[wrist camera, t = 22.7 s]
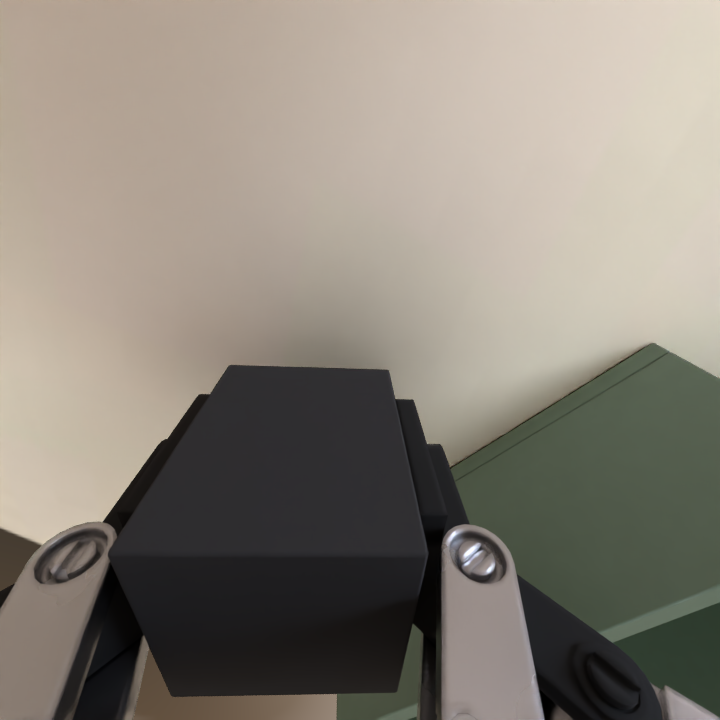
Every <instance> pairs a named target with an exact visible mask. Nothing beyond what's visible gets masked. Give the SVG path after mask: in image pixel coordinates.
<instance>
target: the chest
mask: <svg viewBox="0 0 720 720" xmlns="http://www.w3.org/2000/svg"><path fill="white" fill-rule="evenodd" d="M450 470H451V472H452V475H453V478H454V481H455V484H456V487H457V489H458V492H459V495H460V498H461V501H462V503H463V506H464V509H465V512H466V515H467V517H468V520H469V523H470V525H476V526H479V527H482V528H485V529H486V530H488V531H490V532H491V533H493V534H495V535H496V536H497V537H498V538H499V539H500V540H501V541H502V542H503V543H504V544H505V545H506V547H507V548H508V550H509V551H510V553H511V555H512V558H513V561H514V564H515V569H516V574H517V575H519V576H520V577H522V578H523V579H524V580H526V581H527V582H529V583H530V584H531V585H533V586H534V587H536V588H537V589H538V590H540V591H541V592H543V593H544V594H545V595H547V596H548V597H549V598H551V599H552V600H554V601H555V602H556V603H558V604H559V605H561V606H562V607H563V608H565V609H566V610H568V611H569V612H570V613H572V614H573V615H575V616H576V617H577V618H579V619H580V620H581V621H583V622H584V623H586V624H587V625H588V626H590V627H591V628H593V629H594V630H595V631H597V632H598V633H600V634H601V635H602V636H604V637H605V638H607V639H608V640H609V641H611V642H612V643H614V644H615V645H616V646H618V647H619V648H620V649H621V650H622V651H623V652H625V653H626V654H627V655H628V656H629V657H631V658H632V659H633V661H634V662H635V663H636V664H637V665H638V667H639V668H640V669H641V670H642V671H643V672H644V674H645V675H646V677H647V679H648V680H649V682H650V683H652V684H653V685H655V686H657V687H658V688H660V689H661V688H662V687H663V686H664V685H666V686H668V687H670V688H671V689H673V690H675V691H676V692H678V693H680V694H681V695H683V696H685V697H686V698H688V699H690V700H691V701H693V702H695V703H696V704H698V705H700V706H701V707H703V708H705V709H706V710H708V711H710V712H711V713H713V714H715V715H716V716H718V717H720V379H719V378H717V377H716V376H714V375H712V374H710V373H708V372H706V371H705V370H703V369H701V368H699V367H697V366H695V365H693V364H692V363H690V362H688V361H686V360H684V359H682V358H681V357H679V356H677V355H675V354H673V353H671V352H669V351H667V350H666V349H664V348H662V347H660V346H658V345H656V344H655V343H652V344H650V345H649V346H647V347H646V348H644V349H642V350H641V351H639V352H637V353H636V354H634V355H633V356H631V357H629V358H628V359H626V360H625V361H623V362H621V363H620V364H618V365H617V366H615V367H613V368H612V369H610V370H608V371H607V372H605V373H604V374H602V375H600V376H599V377H597V378H596V379H594V380H592V381H591V382H589V383H588V384H586V385H584V386H583V387H581V388H580V389H578V390H576V391H575V392H573V393H571V394H570V395H568V396H567V397H565V398H563V399H562V400H560V401H559V402H557V403H555V404H554V405H552V406H551V407H549V408H547V409H546V410H544V411H542V412H541V413H539V414H538V415H536V416H534V417H533V418H531V419H530V420H528V421H526V422H525V423H523V424H522V425H520V426H518V427H517V428H515V429H514V430H512V431H510V432H509V433H507V434H505V435H504V436H502V437H501V438H499V439H497V440H496V441H494V442H493V443H491V444H489V445H488V446H486V447H485V448H483V449H481V450H480V451H478V452H476V453H475V454H473V455H472V456H470V457H468V458H467V459H465V460H464V461H462V462H460V463H459V464H457V465H456V466H454V467H452V468H451V469H450ZM420 640H421V631H420V630H419V629H418V628H417V627H416V626H415V625H414V624H412V629H411V633H410V638H409V642H408V646H407V651H406V655H405V660H404V664H403V668H402V673H401V677H400V682H399V686H398V690H397V692H395V693H357V694H337V720H417V704H418V682H419V661H420Z"/></svg>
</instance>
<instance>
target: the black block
mask: <svg viewBox="0 0 720 720" xmlns="http://www.w3.org/2000/svg"><path fill="white" fill-rule="evenodd" d="M428 554H429V553H428V549H427V544H426V539H425V535H424V530H423V525H422V521H421V516H420V512H419V507H418V502H417V498H416V493H415V488H414V484H413V479H412V475H411V470H410V465H409V461H408V456H407V451H406V447H405V442H404V438H403V433H402V428H401V424H400V419H399V414H398V410H397V405H396V401H395V396H394V391H393V387H392V382H391V377H390V373H389V370H377V369H345V368H312V367H279V366H246V365H229V366H228V367H227V369H226V370H225V372H224V374H223V375H222V377H221V378H220V380H219V381H218V383H217V384H216V386H215V387H214V389H213V390H212V392H211V394H210V395H209V397H208V398H207V400H206V401H205V403H204V404H203V406H202V407H201V409H200V411H199V412H198V414H197V415H196V417H195V418H194V420H193V421H192V423H191V424H190V426H189V427H188V429H187V431H186V432H185V434H184V435H183V437H182V438H181V440H180V441H179V443H178V444H177V446H176V447H175V449H174V451H173V452H172V454H171V455H170V457H169V458H168V460H167V461H166V463H165V464H164V466H163V468H162V469H161V471H160V472H159V474H158V475H157V477H156V478H155V480H154V481H153V483H152V484H151V486H150V488H149V489H148V491H147V492H146V494H145V495H144V497H143V498H142V500H141V501H140V503H139V505H138V506H137V508H136V509H135V511H134V512H133V514H132V515H131V517H130V518H129V520H128V521H127V523H126V525H125V526H124V528H123V529H122V531H121V532H120V534H119V535H118V537H117V538H116V540H115V541H114V543H113V545H112V546H111V548H110V549H109V551H108V558H109V560H110V563H111V565H112V567H113V569H114V571H115V573H116V576H117V578H118V580H119V582H120V584H121V587H122V589H123V591H124V593H125V595H126V598H127V600H128V602H129V604H130V606H131V609H132V611H133V613H134V615H135V617H136V620H137V622H138V624H139V626H140V628H141V630H142V633H143V635H144V637H145V639H146V641H147V644H148V646H149V648H150V650H151V652H152V655H153V657H154V659H155V661H156V663H157V666H158V668H159V670H160V672H161V674H162V677H163V679H164V681H165V683H166V685H167V687H168V690H169V692H170V694H171V696H173V697H187V696H244V695H295V694H296V695H301V694H357V693H395V692H397V690H398V686H399V682H400V677H401V673H402V668H403V664H404V660H405V655H406V651H407V646H408V642H409V638H410V633H411V629H412V624H413V620H414V616H415V611H416V607H417V602H418V598H419V594H420V589H421V585H422V580H423V576H424V572H425V567H426V563H427V559H428Z"/></svg>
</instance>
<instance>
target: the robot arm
mask: <svg viewBox="0 0 720 720" xmlns="http://www.w3.org/2000/svg"><path fill="white" fill-rule="evenodd" d="M209 395H210V394H200V395H198V396H197V398H196V399H195V400H194V402H193V403H192V405H191V406H190V408H189V409H188V410H187V412H186V413H185V415H184V416H183V418H182V419H181V420H180V422H179V423H178V425H177V426H176V428H175V429H174V430H173V432H172V433H171V435H170V436H169V437H168V439H165V440H163V441H161V443H160V444H159V445H158V446H157V447H156V449H155V450H154V452H153V453H152V454H151V456H150V457H149V458H148V460H147V461H146V463H145V464H144V465H143V467H142V468H141V470H140V471H139V472H138V474H137V475H136V477H135V478H134V479H133V481H132V482H131V483H130V485H129V486H128V488H127V489H126V490H125V492H124V493H123V495H122V496H121V497H120V499H119V500H118V502H117V503H116V504H115V506H114V507H113V508H112V510H111V511H110V513H109V514H108V515H107V517H106V518H105V520H104V521H103V522H87V523H83V524H80V525H76V526H73V527H71V528H69V529H67V530H65V531H62V532H60V533H59V534H57V535H56V536H54V537H53V538H51V539H50V540H48V541H47V542H46V543H45V544H43V545H42V546H41V547H40V548H39V549H38V550H37V551H36V552H35V553H34V554H33V556H32V557H31V558H30V560H29V561H28V563H27V564H26V566H25V567H24V569H23V571H22V573H21V574H20V576H19V578H18V579H17V581H16V583H15V584H13V585H11V586H9V587H7V588H5V589H4V590H2V591H0V720H133V718H134V714H135V709H136V704H137V700H138V695H139V691H140V686H141V681H142V676H143V672H144V667H145V663H146V658H147V654H148V649H149V646H148V644H147V641H146V639H145V637H144V635H143V633H142V630H141V628H140V626H139V624H138V622H137V620H136V617H135V615H134V613H133V611H132V609H131V606H130V604H129V602H128V600H127V598H126V595H125V593H124V591H123V589H122V587H121V584H120V582H119V580H118V578H117V576H116V573H115V571H114V569H113V567H112V565H111V563H110V560H109V558H108V551H109V549H110V548H111V546H112V545H113V543H114V541H115V540H116V538H117V537H118V535H119V534H120V532H121V531H122V529H123V528H124V526H125V525H126V523H127V521H128V520H129V518H130V517H131V515H132V514H133V512H134V511H135V509H136V508H137V506H138V505H139V503H140V501H141V500H142V498H143V497H144V495H145V494H146V492H147V491H148V489H149V488H150V486H151V484H152V483H153V481H154V480H155V478H156V477H157V475H158V474H159V472H160V471H161V469H162V468H163V466H164V464H165V463H166V461H167V460H168V458H169V457H170V455H171V454H172V452H173V451H174V449H175V447H176V446H177V444H178V443H179V441H180V440H181V438H182V437H183V435H184V434H185V432H186V431H187V429H188V427H189V426H190V424H191V423H192V421H193V420H194V418H195V417H196V415H197V414H198V412H199V411H200V409H201V407H202V406H203V404H204V403H205V401H206V400H207V398H208V397H209ZM395 401H396V405H397V410H398V414H399V419H400V424H401V428H402V433H403V438H404V442H405V447H406V451H407V456H408V461H409V465H410V470H411V475H412V479H413V484H414V488H415V493H416V498H417V502H418V507H419V512H420V516H421V521H422V525H423V530H424V535H425V539H426V544H427V549H428V553H429V554H428V559H427V563H426V567H425V572H424V576H423V580H422V585H421V589H420V594H419V598H418V602H417V607H416V611H415V616H414V620H413V624H414V625H415V626H416V627H417V628H418V629H419V630H420V631H421V640H420V661H419V682H418V704H417V720H720V717H718V716H716V715H715V714H713V713H711V712H710V711H708V710H706V709H705V708H703V707H701V706H700V705H698V704H696V703H695V702H693V701H691V700H690V699H688V698H686V697H685V696H683V695H681V694H680V693H678V692H676V691H675V690H673V689H671V688H670V687H668V686H666V685H664V686H663V687H662V688H661V689H660V688H658V687H657V686H655V685H653V684H652V683H650V682H649V680H648V679H647V677H646V675H645V674H644V672H643V671H642V670H641V669H640V668H639V667H638V665H637V664H636V663H635V662H634V661H633V659H632V658H631V657H629V656H628V655H627V654H626V653H625V652H623V651H622V650H621V649H620V648H619V647H618V646H616V645H615V644H614V643H612V642H611V641H609V640H608V639H607V638H605V637H604V636H602V635H601V634H600V633H598V632H597V631H595V630H594V629H593V628H591V627H590V626H588V625H587V624H586V623H584V622H583V621H581V620H580V619H579V618H577V617H576V616H575V615H573V614H572V613H570V612H569V611H568V610H566V609H565V608H563V607H562V606H561V605H559V604H558V603H556V602H555V601H554V600H552V599H551V598H549V597H548V596H547V595H545V594H544V593H543V592H541V591H540V590H538V589H537V588H536V587H534V586H533V585H531V584H530V583H529V582H527V581H526V580H524V579H523V578H522V577H520V576H519V575H517V574H516V569H515V564H514V561H513V558H512V555H511V553H510V551H509V550H508V548H507V547H506V545H505V544H504V543H503V542H502V541H501V540H500V539H499V538H498V537H497V536H496V535H495V534H493V533H491V532H490V531H488V530H486V529H485V528H482V527H479V526H476V525H470V523H469V520H468V517H467V515H466V512H465V509H464V506H463V503H462V501H461V498H460V495H459V492H458V489H457V487H456V484H455V481H454V478H453V475H452V472H451V470H450V467H449V464H448V461H447V458H446V456H445V453H444V450H443V448H442V446H441V445H440V444H427V443H426V440H425V436H424V433H423V430H422V426H421V423H420V420H419V416H418V413H417V410H416V406H415V403H414V400H406V399H395Z"/></svg>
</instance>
